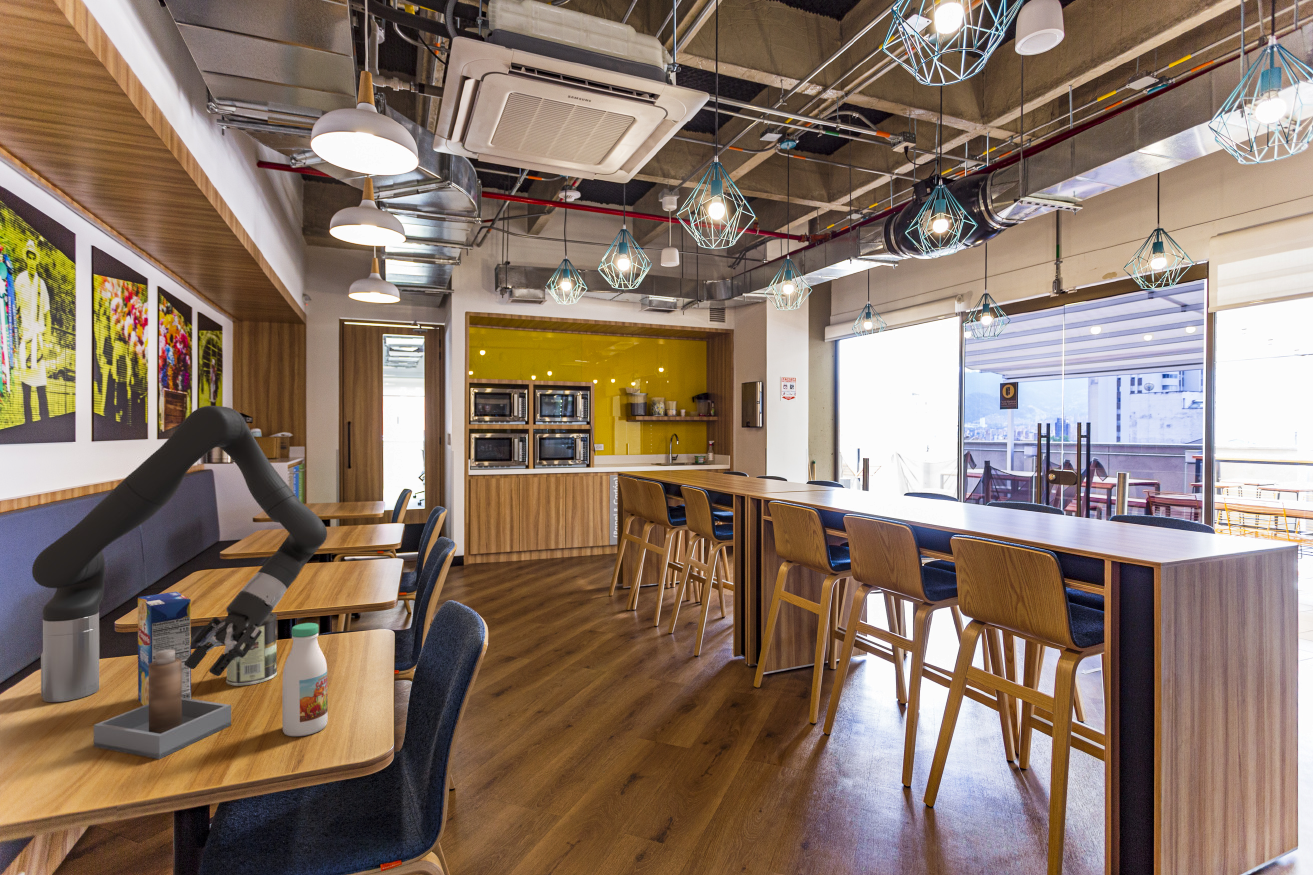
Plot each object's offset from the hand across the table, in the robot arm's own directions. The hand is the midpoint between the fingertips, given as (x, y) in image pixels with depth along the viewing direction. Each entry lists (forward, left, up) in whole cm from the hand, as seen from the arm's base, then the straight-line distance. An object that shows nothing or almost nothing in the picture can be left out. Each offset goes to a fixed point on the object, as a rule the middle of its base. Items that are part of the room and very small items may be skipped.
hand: (200, 670), depth 131 cm
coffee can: (-11, +22, -11) cm, 27 cm away
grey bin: (-1, -6, -10) cm, 12 cm away
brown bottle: (-1, -6, -10) cm, 11 cm away
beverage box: (-17, +6, -11) cm, 21 cm away
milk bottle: (+22, +4, -11) cm, 24 cm away
